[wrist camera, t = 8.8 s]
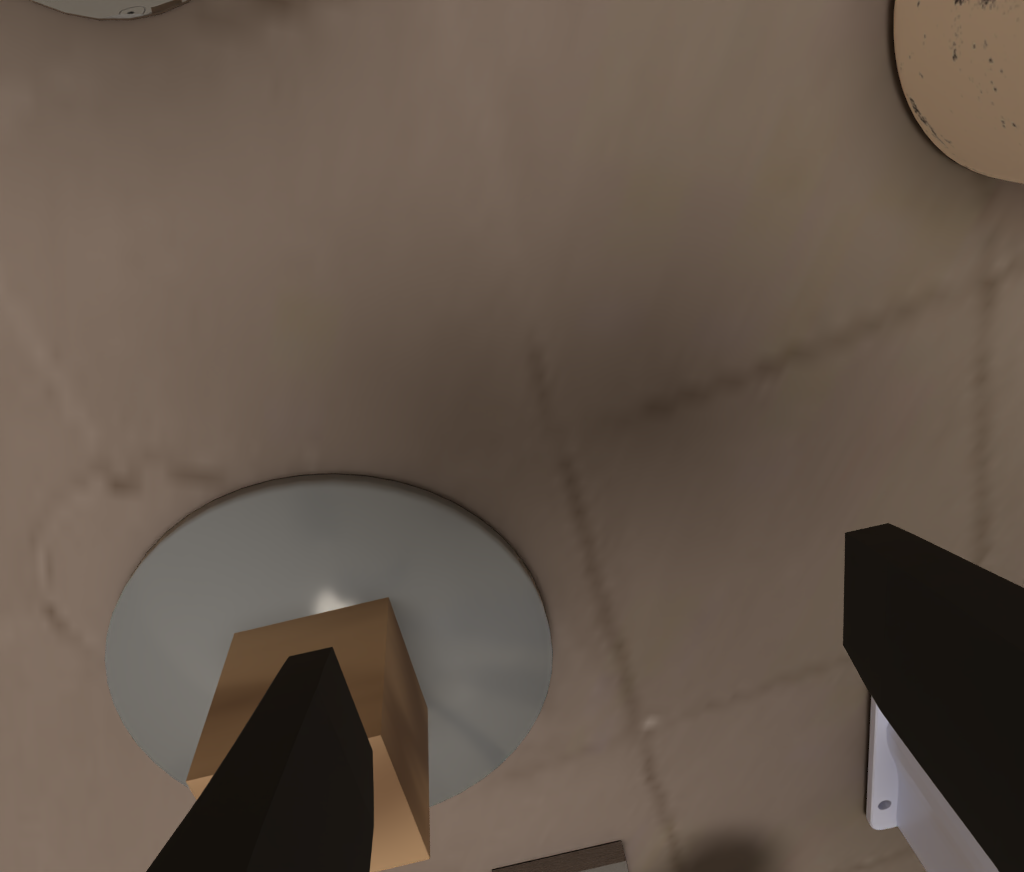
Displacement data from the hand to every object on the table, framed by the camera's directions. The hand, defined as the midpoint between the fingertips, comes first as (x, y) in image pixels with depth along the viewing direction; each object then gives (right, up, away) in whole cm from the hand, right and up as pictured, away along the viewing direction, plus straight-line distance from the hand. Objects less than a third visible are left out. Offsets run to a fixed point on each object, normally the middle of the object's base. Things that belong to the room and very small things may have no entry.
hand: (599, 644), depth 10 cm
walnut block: (-7, -4, +12) cm, 14 cm away
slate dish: (-7, -4, +13) cm, 15 cm away
